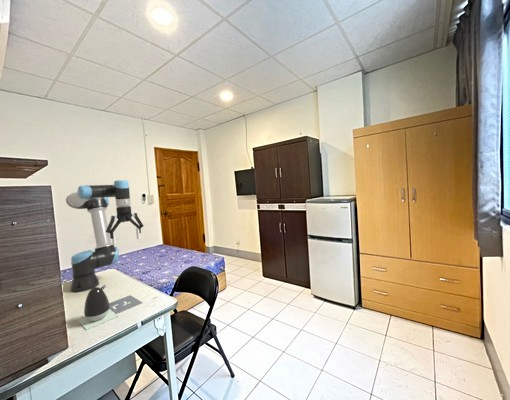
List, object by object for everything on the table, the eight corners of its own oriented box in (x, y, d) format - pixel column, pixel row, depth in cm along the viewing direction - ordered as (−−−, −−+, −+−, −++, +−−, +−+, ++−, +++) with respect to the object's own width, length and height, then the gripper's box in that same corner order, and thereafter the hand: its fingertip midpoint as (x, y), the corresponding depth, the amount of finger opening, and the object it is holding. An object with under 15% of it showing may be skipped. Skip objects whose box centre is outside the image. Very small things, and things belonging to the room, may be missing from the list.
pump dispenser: (115, 313, 114) (112, 283, 114) (95, 325, 105) (91, 293, 104) (101, 311, 118) (98, 282, 117) (79, 322, 108) (76, 291, 107)
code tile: (99, 307, 122) (98, 307, 122) (130, 295, 135) (130, 295, 135) (109, 316, 112) (109, 316, 112) (142, 302, 125) (142, 302, 125)
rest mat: (78, 320, 110) (78, 320, 110) (108, 308, 120) (108, 308, 120) (86, 330, 102) (86, 329, 102) (118, 316, 112) (118, 315, 112)
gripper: (101, 208, 123) (105, 247, 125) (147, 204, 143) (150, 237, 144) (97, 208, 128) (100, 245, 129) (141, 204, 147) (144, 236, 148)
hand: (126, 241), depth 137 cm, fingers open, 13 cm apart
